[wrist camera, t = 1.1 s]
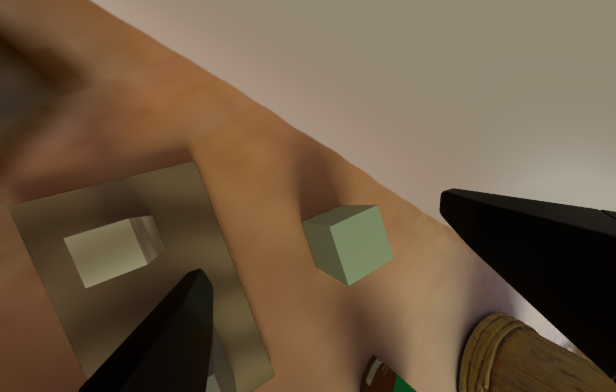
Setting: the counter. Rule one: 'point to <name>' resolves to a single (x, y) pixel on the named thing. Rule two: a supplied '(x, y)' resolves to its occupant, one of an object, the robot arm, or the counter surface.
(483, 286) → the counter surface
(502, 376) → the tankard
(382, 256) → the sage cap
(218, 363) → the gray block
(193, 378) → the robot arm
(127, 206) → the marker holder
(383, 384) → the food container
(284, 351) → the counter surface
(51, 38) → the counter surface
